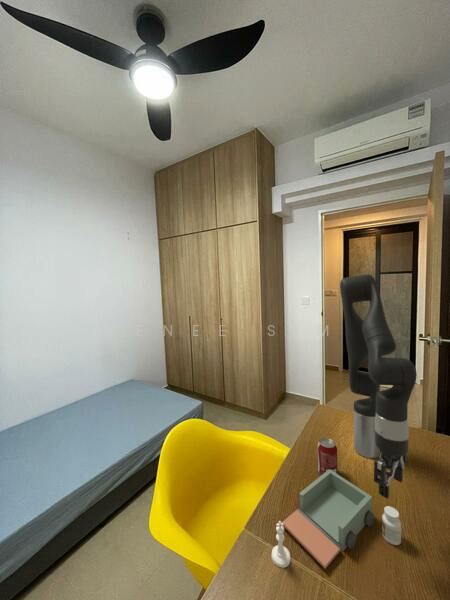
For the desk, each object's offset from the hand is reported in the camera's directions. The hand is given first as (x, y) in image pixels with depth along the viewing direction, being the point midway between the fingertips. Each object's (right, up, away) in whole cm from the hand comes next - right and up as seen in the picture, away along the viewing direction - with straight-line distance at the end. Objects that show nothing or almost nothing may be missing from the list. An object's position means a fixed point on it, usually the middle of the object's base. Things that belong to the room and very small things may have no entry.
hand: (391, 487), depth 68 cm
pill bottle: (+1, -15, +1) cm, 15 cm away
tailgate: (-19, -14, +3) cm, 24 cm away
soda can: (-7, -14, +25) cm, 29 cm away
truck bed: (-11, -15, +8) cm, 20 cm away
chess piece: (-31, -17, -2) cm, 35 cm away
